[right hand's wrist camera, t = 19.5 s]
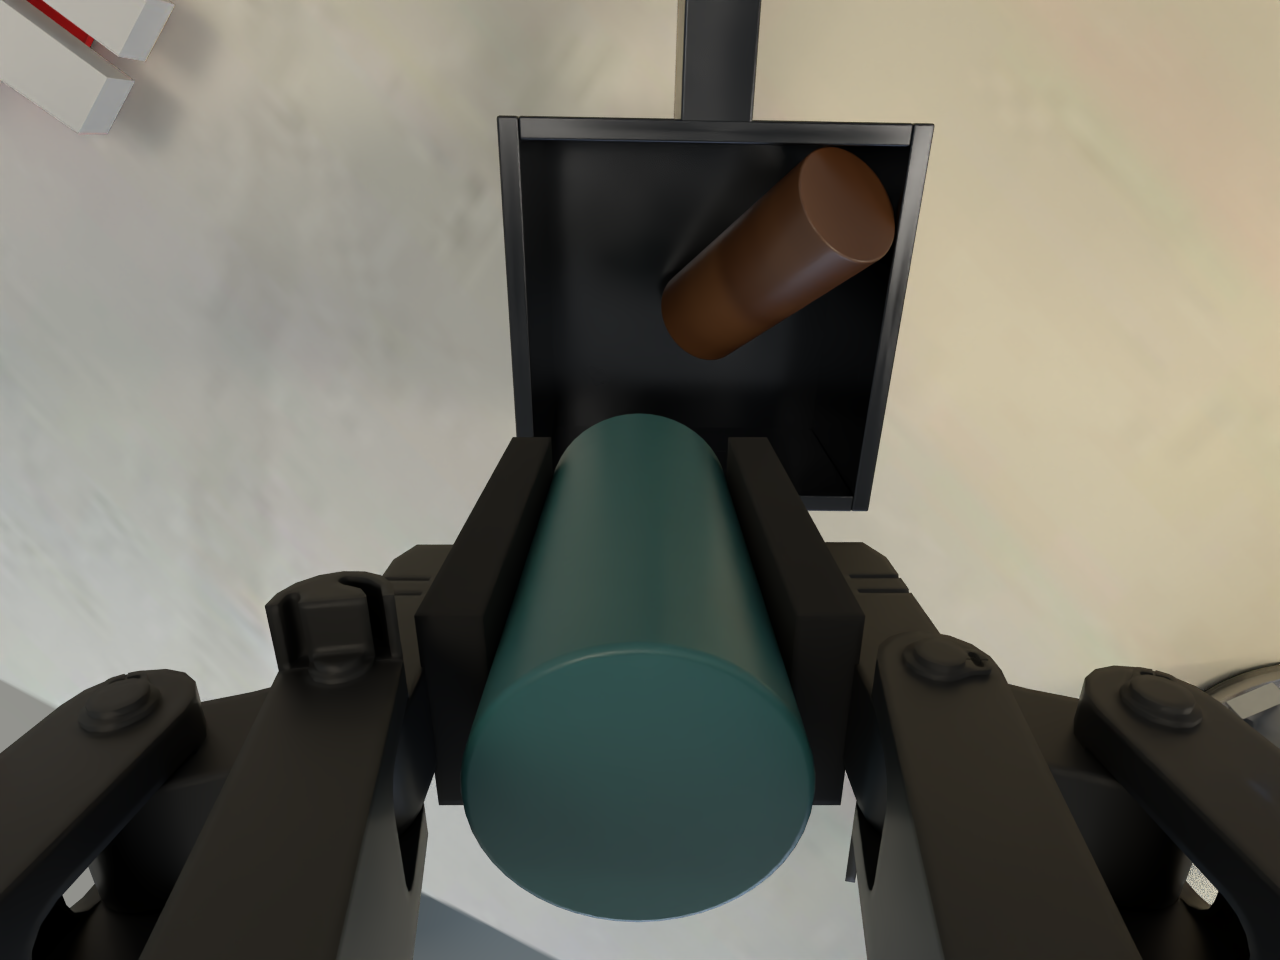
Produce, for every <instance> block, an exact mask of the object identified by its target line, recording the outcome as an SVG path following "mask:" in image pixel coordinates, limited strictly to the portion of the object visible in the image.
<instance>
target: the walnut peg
mask: <svg viewBox="0 0 1280 960" xmlns="http://www.w3.org/2000/svg"><path fill="white" fill-rule="evenodd" d="M894 234H895V218H894V212H893V208H892V204H891V201H890V199H889V196H888V194H887V192H886V190H885V188H884V186H883V184H882V183H881V181H880V180H879V178H878V177H877V175H876V174H875V173H874V172H873V170H872V169H871V168H870V167H869V166H868V165H867V164H866V163H865V162H864V161H862V160H861V159H860V158H859V157H857V156H856V155H854V154H852V153H851V152H849V151H846V150H844V149H841V148H837V147H822V148H819V149H816V150H814V151H812V152H811V153H810V154H808V155H807V156H806V157H805V158H804V159H803V160H802V161H801V162H800V163H799V164H797V165H796V166H795V167H794V168H793V169H792V170H791V171H790V172H789V173H788V174H786V175H785V176H784V177H783V178H782V179H781V180H780V181H779V182H778V183H777V184H775V185H774V186H773V187H772V188H771V189H770V190H769V191H768V192H767V193H766V194H764V195H763V196H762V197H761V198H760V199H759V200H758V201H757V202H756V203H755V204H753V205H752V206H751V207H750V208H749V209H748V210H747V211H746V212H745V213H743V214H742V215H741V216H740V217H739V218H738V219H737V220H736V221H735V222H734V223H732V224H731V225H730V226H729V227H728V228H727V229H726V230H725V231H724V232H723V233H721V234H720V235H719V236H718V237H717V238H716V239H715V240H714V241H713V242H712V243H710V244H709V245H708V246H707V247H706V248H705V249H704V250H703V251H702V252H701V253H699V254H698V255H697V256H696V257H695V258H694V259H693V260H692V261H691V262H690V263H688V264H687V265H686V266H685V267H684V268H683V269H682V270H681V271H680V272H679V273H677V274H676V275H675V276H674V277H673V278H672V279H671V280H670V281H669V282H668V284H667V285H666V287H665V289H664V292H663V295H662V300H661V311H662V317H663V321H664V324H665V326H666V328H667V331H668V332H669V334H670V336H671V337H672V338H673V340H674V341H675V342H676V343H677V344H678V346H680V347H681V348H682V349H683V350H684V351H686V352H687V353H689V354H690V355H692V356H694V357H697V358H700V359H704V360H717V359H721V358H723V357H725V356H727V355H729V354H730V353H732V352H734V351H735V350H737V349H738V348H740V347H742V346H743V345H745V344H746V343H748V342H749V341H751V340H753V339H754V338H756V337H757V336H759V335H761V334H762V333H764V332H765V331H767V330H769V329H770V328H772V327H773V326H775V325H776V324H778V323H780V322H781V321H783V320H784V319H786V318H788V317H789V316H791V315H792V314H794V313H796V312H797V311H799V310H800V309H802V308H803V307H805V306H807V305H808V304H810V303H811V302H813V301H815V300H816V299H818V298H819V297H821V296H822V295H824V294H826V293H827V292H829V291H830V290H832V289H834V288H835V287H837V286H838V285H840V284H842V283H843V282H845V281H846V280H848V279H849V278H851V277H853V276H854V275H856V274H857V273H859V272H861V271H862V270H864V269H865V268H867V267H868V266H870V265H872V264H873V263H875V262H876V261H878V260H880V259H881V258H882V257H883V256H884V255H885V254H886V253H887V252H888V250H889V249H890V247H891V245H892V242H893V239H894Z"/></svg>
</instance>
